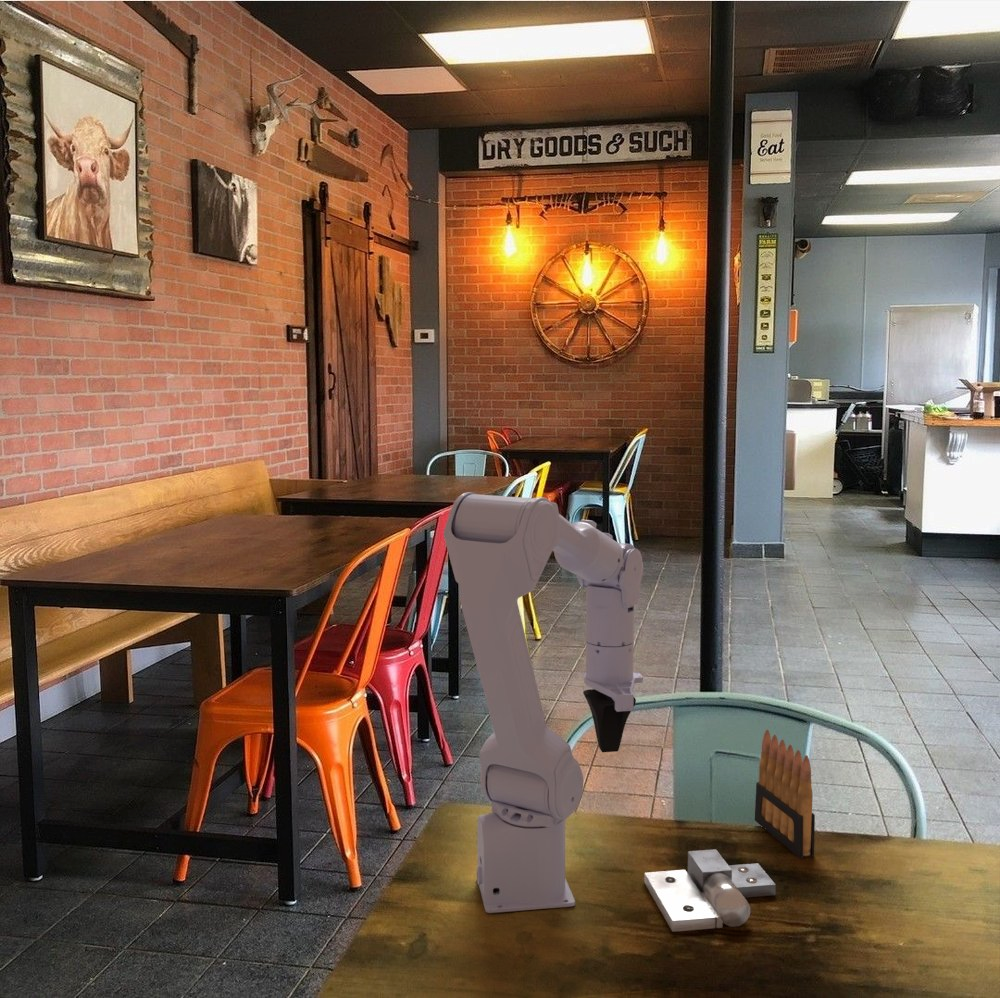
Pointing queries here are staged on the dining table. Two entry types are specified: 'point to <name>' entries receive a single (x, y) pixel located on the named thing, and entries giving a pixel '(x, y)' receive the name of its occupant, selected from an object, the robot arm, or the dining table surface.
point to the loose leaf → (729, 873)
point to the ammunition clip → (785, 796)
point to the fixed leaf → (697, 900)
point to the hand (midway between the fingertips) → (608, 749)
